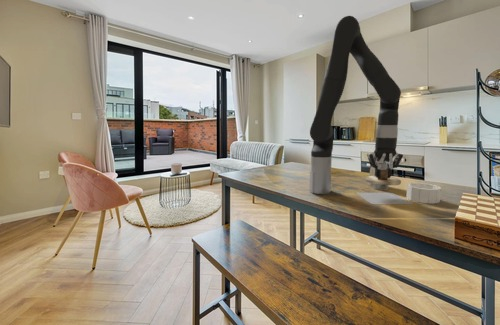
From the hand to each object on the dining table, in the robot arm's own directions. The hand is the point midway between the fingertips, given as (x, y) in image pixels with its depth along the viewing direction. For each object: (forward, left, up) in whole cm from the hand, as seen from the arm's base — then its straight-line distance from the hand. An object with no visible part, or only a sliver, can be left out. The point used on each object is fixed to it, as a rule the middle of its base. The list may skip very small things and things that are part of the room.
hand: (382, 177), depth 97 cm
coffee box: (+7, +18, -10) cm, 21 cm away
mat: (0, 0, -9) cm, 9 cm away
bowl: (+15, -2, -9) cm, 18 cm away
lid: (0, 0, -2) cm, 2 cm away
